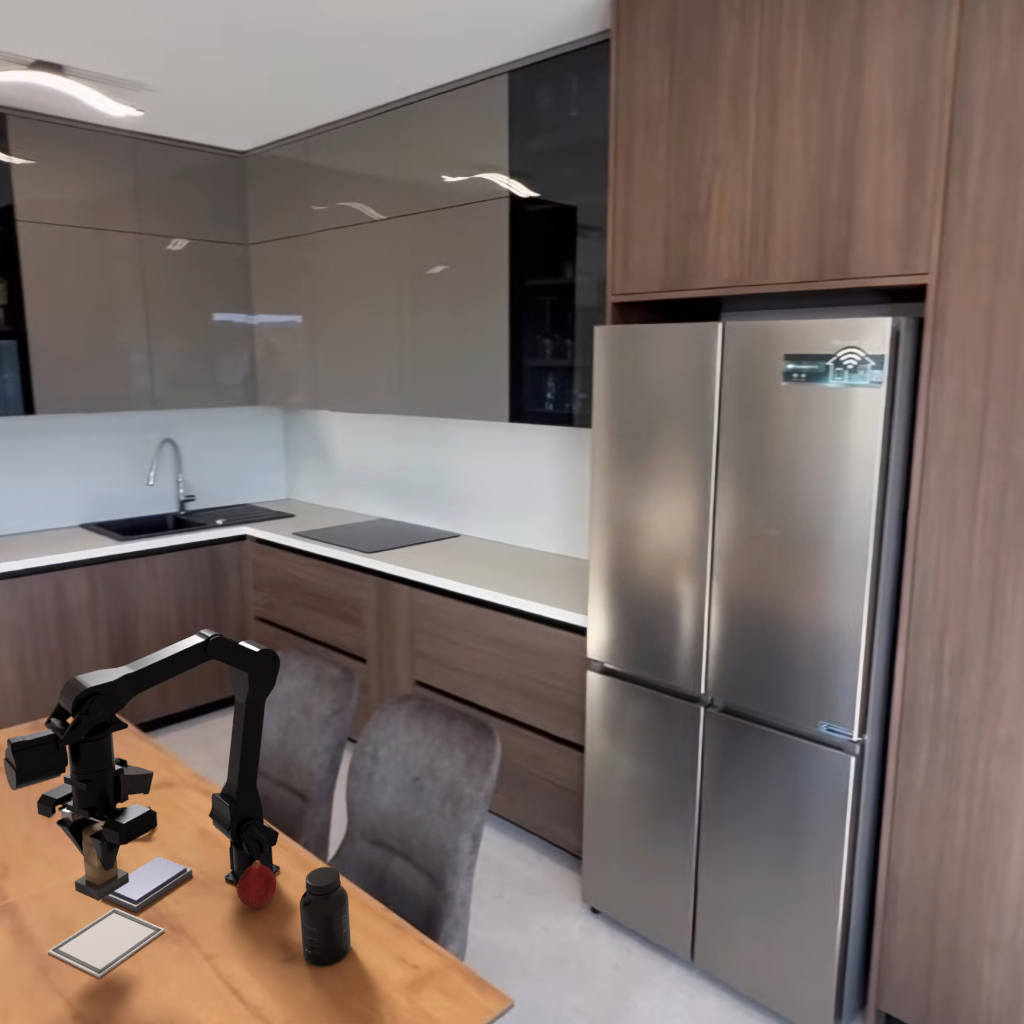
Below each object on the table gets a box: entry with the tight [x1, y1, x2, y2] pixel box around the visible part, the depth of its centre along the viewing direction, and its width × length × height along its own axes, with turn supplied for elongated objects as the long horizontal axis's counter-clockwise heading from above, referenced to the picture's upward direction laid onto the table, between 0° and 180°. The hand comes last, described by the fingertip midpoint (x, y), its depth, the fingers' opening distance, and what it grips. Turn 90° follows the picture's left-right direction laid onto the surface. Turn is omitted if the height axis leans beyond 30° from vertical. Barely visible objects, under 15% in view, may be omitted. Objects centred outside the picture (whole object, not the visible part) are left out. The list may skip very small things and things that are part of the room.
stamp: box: [74, 822, 129, 902], centre depth 119 cm, size 5×5×9 cm
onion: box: [236, 860, 277, 910], centre depth 129 cm, size 6×6×8 cm
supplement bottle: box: [299, 866, 352, 967], centre depth 118 cm, size 7×7×12 cm
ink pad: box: [103, 856, 193, 913], centre depth 135 cm, size 8×11×2 cm
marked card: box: [47, 907, 166, 979], centre depth 121 cm, size 11×11×1 cm
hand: (101, 865), depth 120 cm, fingers closed on stamp, 3 cm apart
